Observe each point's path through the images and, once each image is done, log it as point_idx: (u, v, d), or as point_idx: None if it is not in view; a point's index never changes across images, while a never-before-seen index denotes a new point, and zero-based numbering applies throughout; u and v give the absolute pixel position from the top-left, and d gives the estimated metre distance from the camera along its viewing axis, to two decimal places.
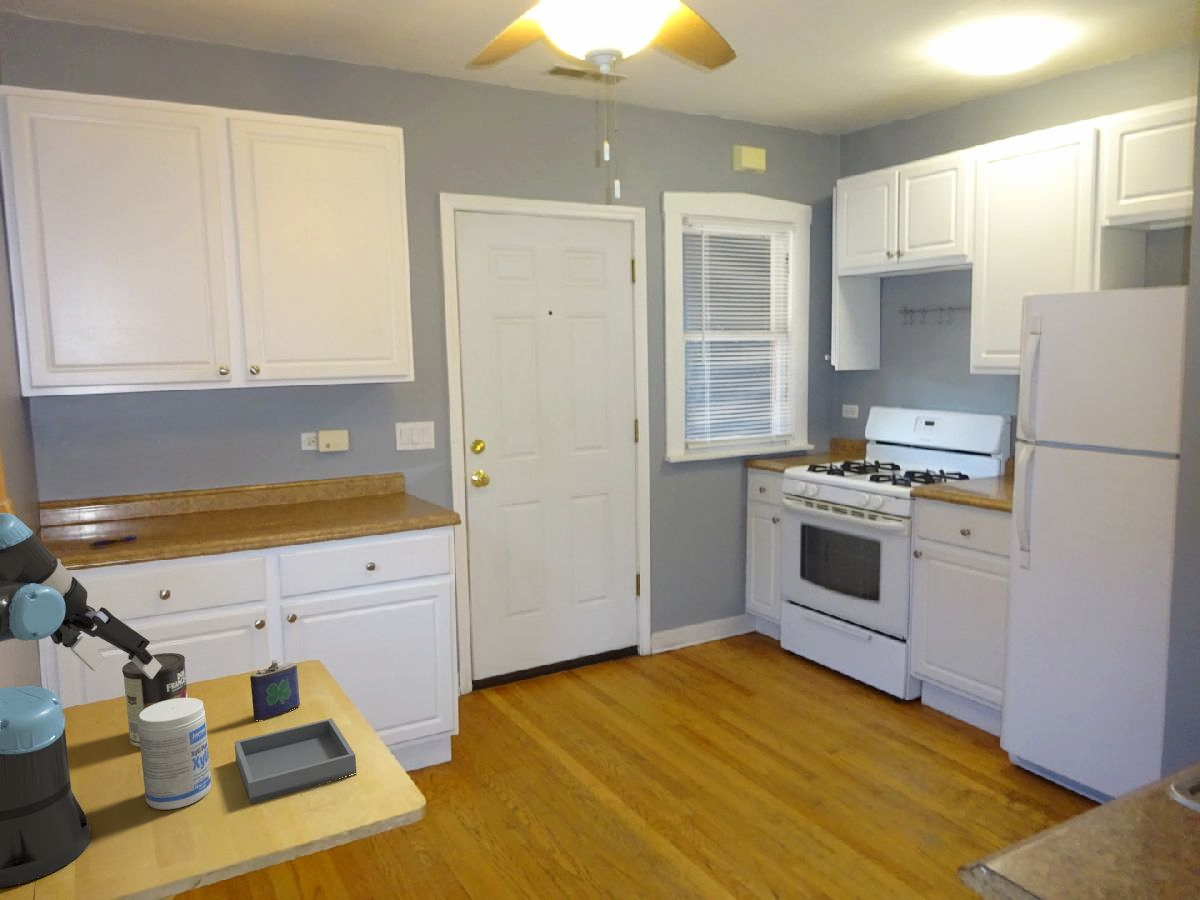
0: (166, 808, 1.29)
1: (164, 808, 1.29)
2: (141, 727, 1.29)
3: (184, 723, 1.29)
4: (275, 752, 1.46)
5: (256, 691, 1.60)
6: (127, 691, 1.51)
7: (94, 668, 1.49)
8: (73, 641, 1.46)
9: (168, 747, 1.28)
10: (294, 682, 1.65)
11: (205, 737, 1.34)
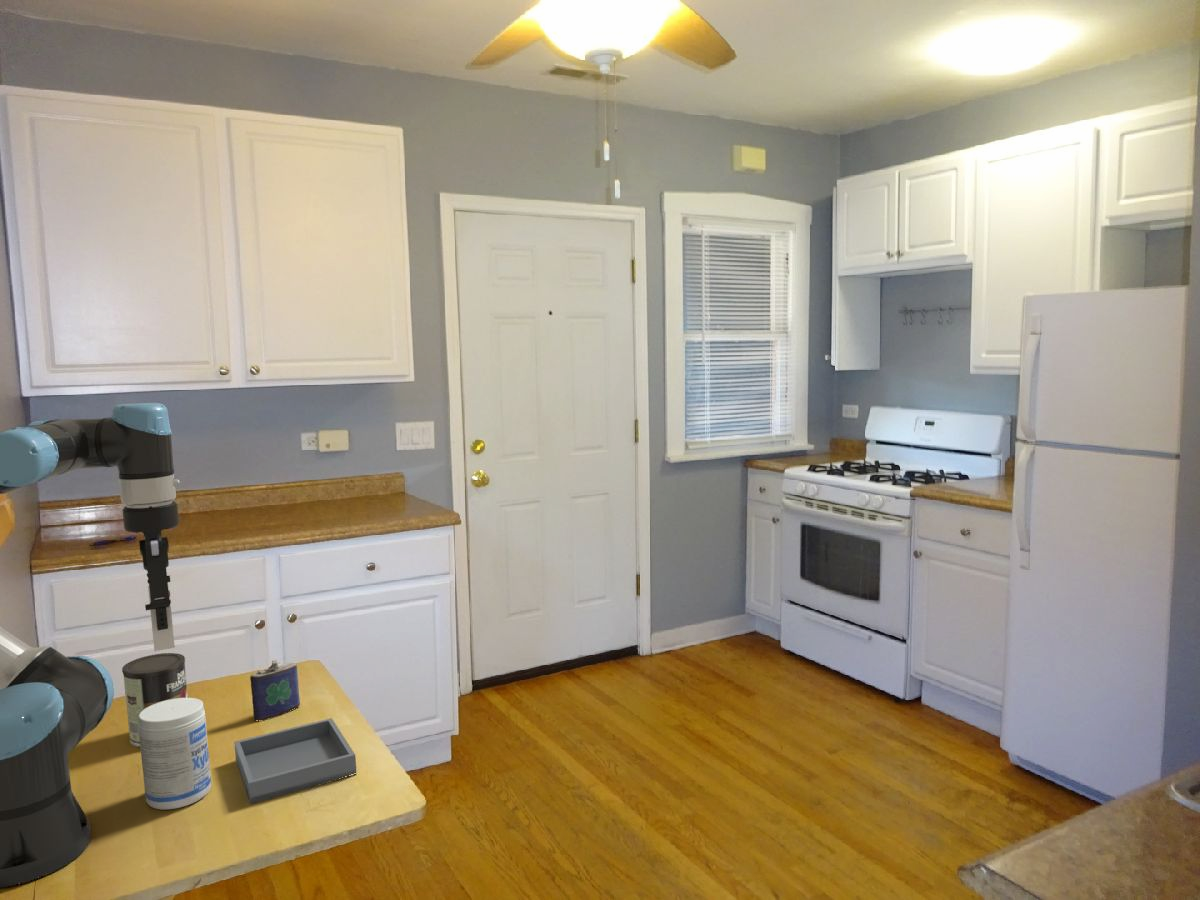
0: (166, 808, 1.29)
1: (164, 808, 1.29)
2: (141, 727, 1.29)
3: (184, 723, 1.29)
4: (275, 752, 1.46)
5: (256, 691, 1.60)
6: (127, 691, 1.51)
7: None
8: None
9: (168, 747, 1.28)
10: (294, 682, 1.65)
11: (205, 737, 1.34)
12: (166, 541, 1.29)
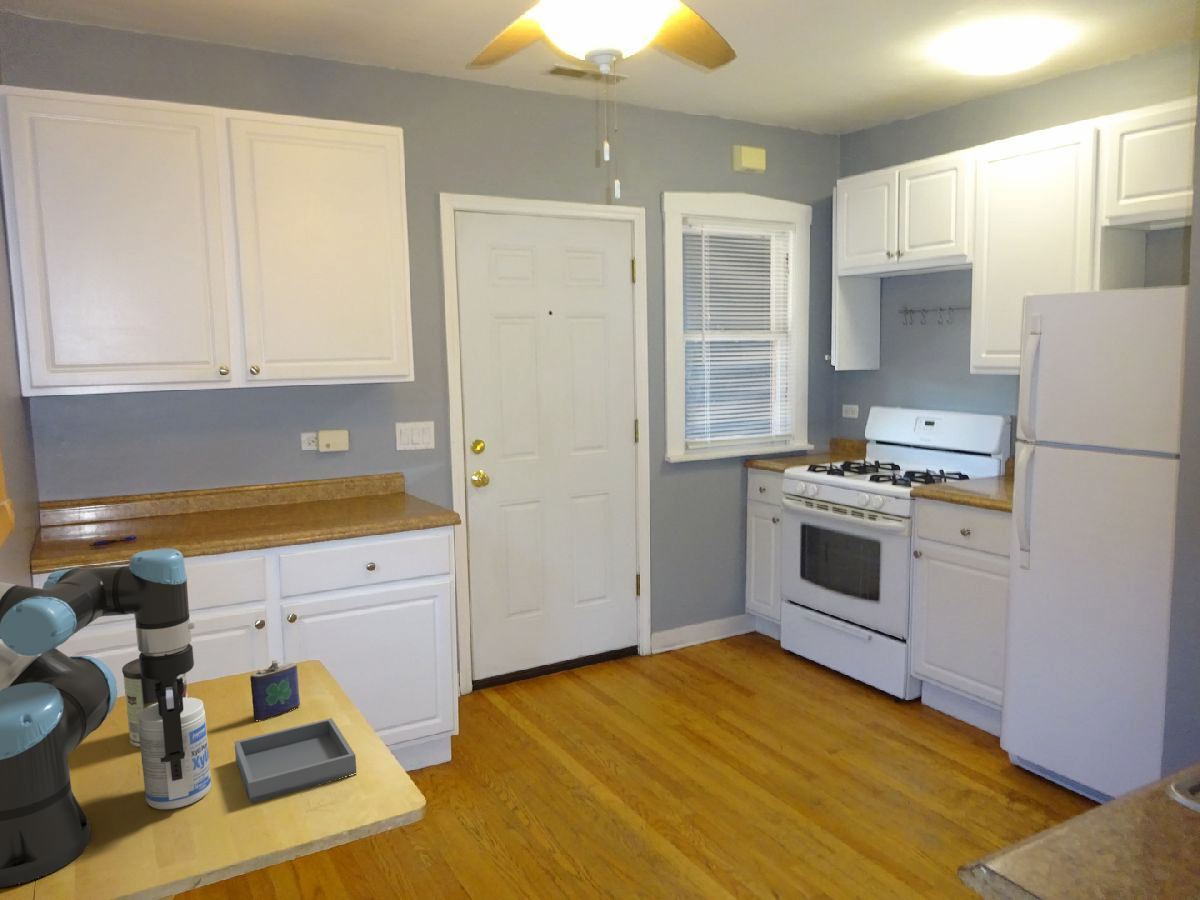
0: (166, 808, 1.29)
1: (164, 808, 1.29)
2: (141, 727, 1.29)
3: (184, 723, 1.29)
4: (275, 752, 1.46)
5: (256, 691, 1.60)
6: (127, 691, 1.51)
7: None
8: None
9: None
10: (294, 682, 1.65)
11: (205, 737, 1.34)
12: (181, 686, 1.31)
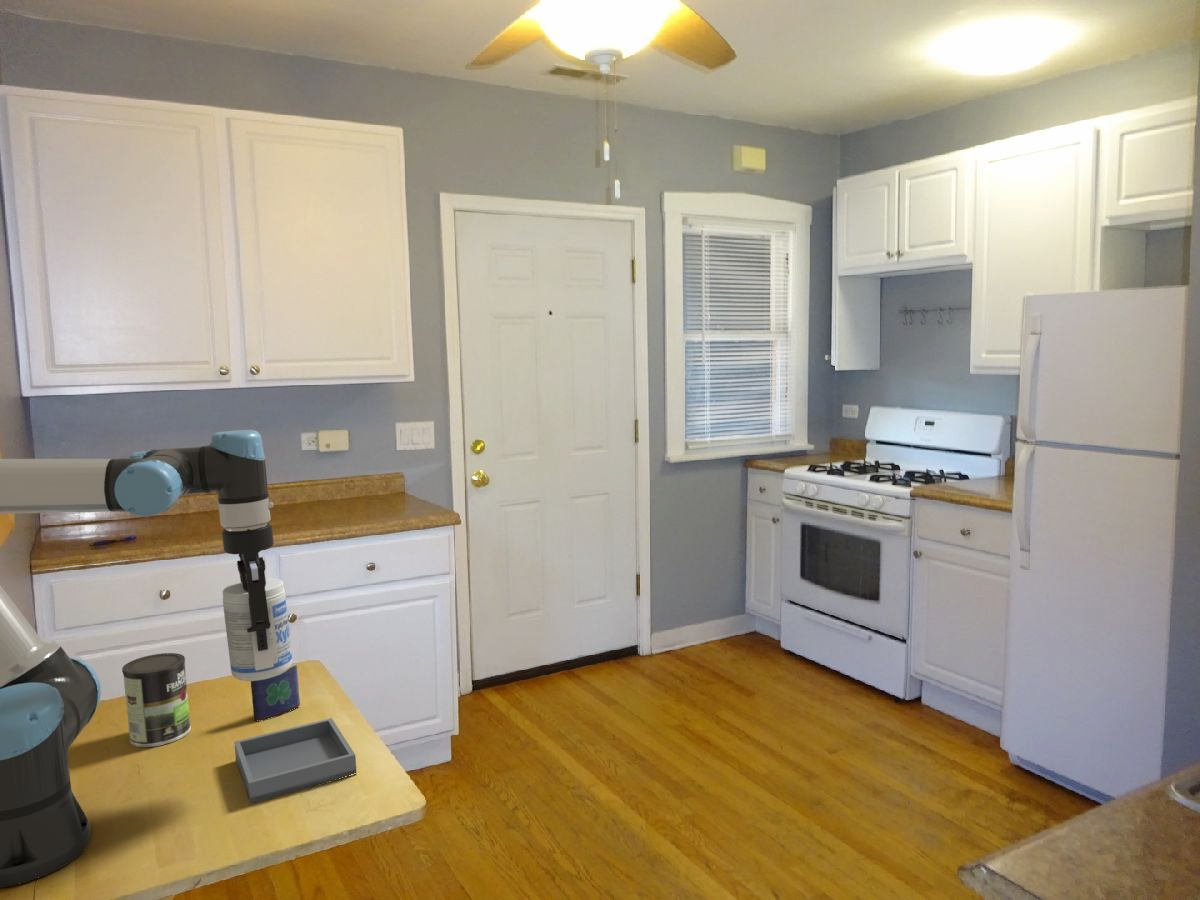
0: (252, 679, 1.33)
1: (250, 679, 1.33)
2: (226, 601, 1.33)
3: (267, 596, 1.33)
4: (275, 752, 1.46)
5: (256, 691, 1.60)
6: (127, 691, 1.51)
7: None
8: None
9: None
10: (294, 682, 1.65)
11: (286, 613, 1.37)
12: (263, 562, 1.35)
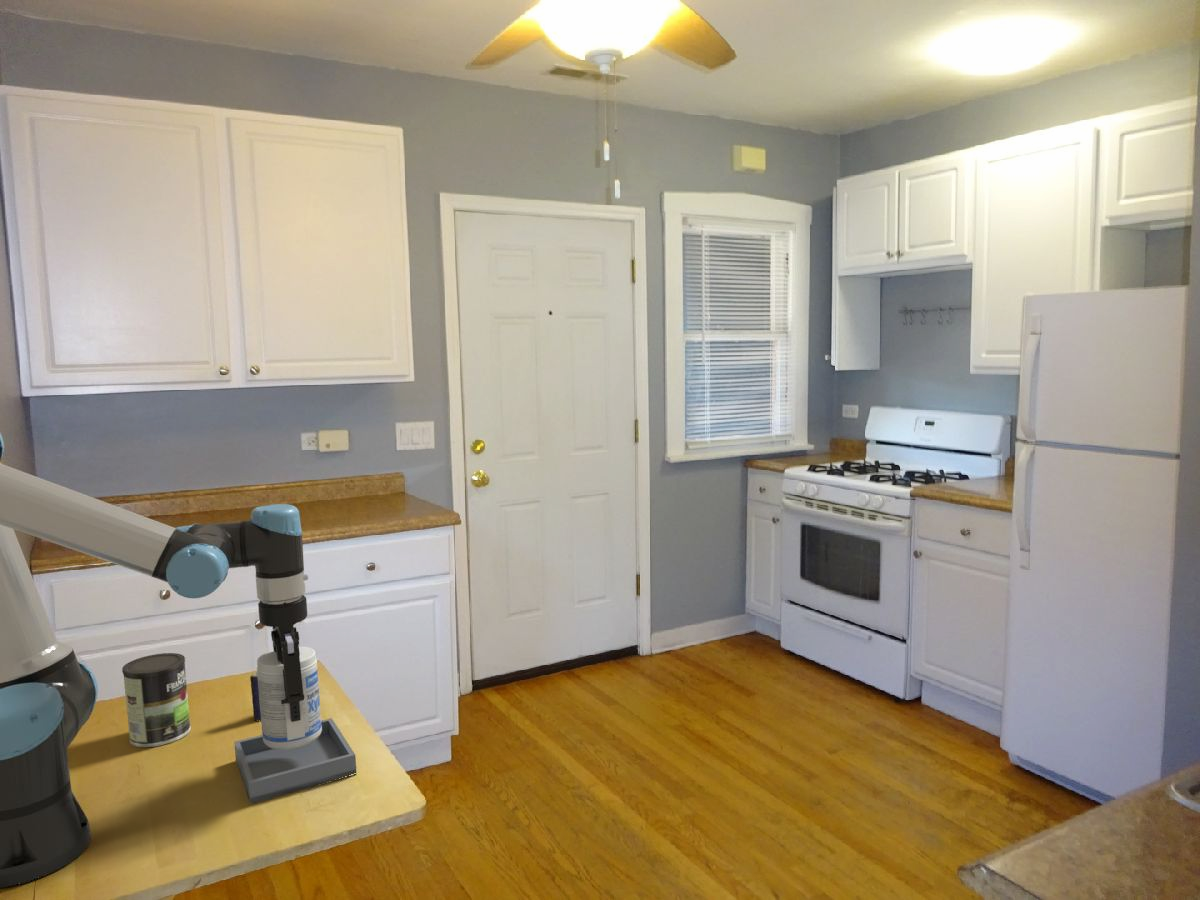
0: (284, 748, 1.37)
1: (282, 748, 1.37)
2: (261, 671, 1.36)
3: (301, 667, 1.37)
4: (275, 752, 1.46)
5: (256, 691, 1.60)
6: (127, 691, 1.51)
7: None
8: None
9: None
10: None
11: (317, 682, 1.41)
12: (297, 633, 1.39)
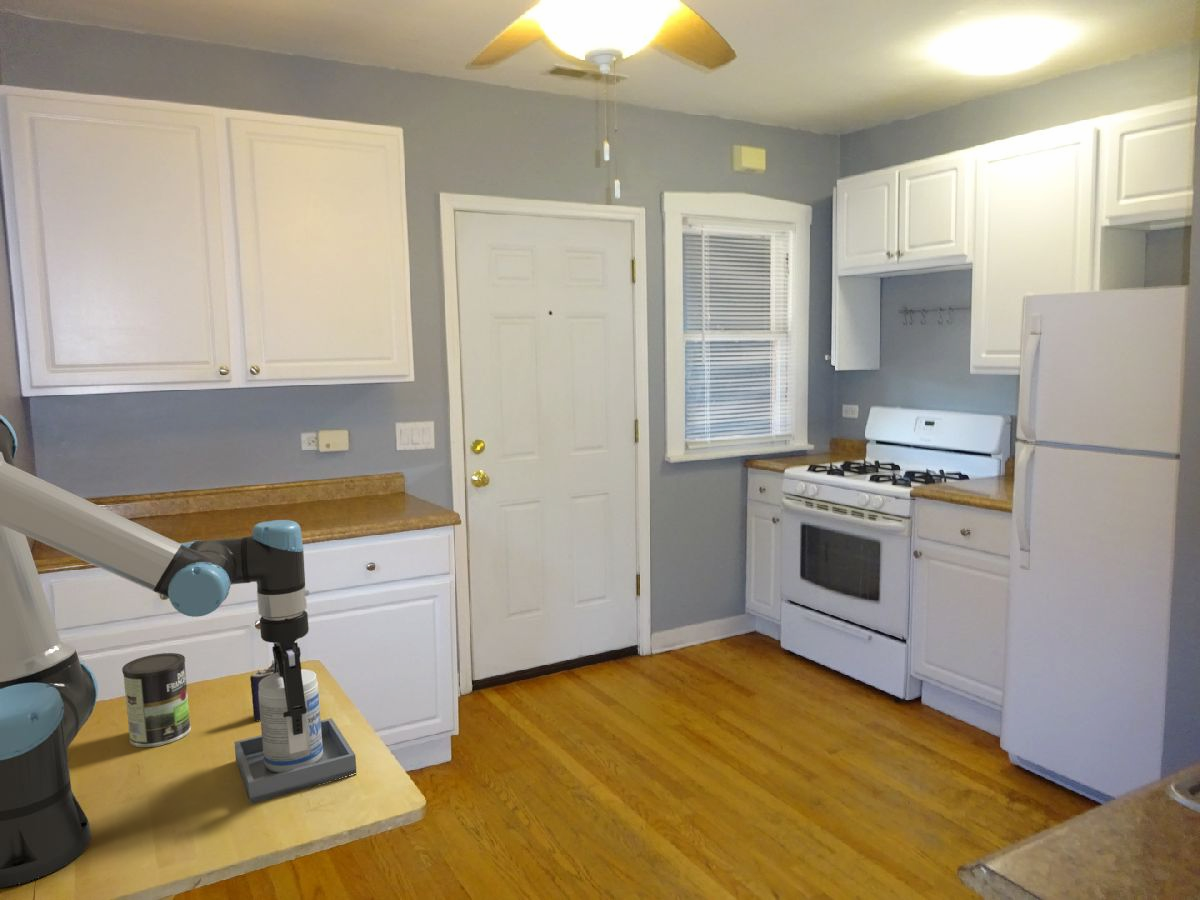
0: None
1: (283, 771, 1.38)
2: (263, 695, 1.37)
3: None
4: None
5: (256, 691, 1.60)
6: (127, 691, 1.51)
7: None
8: None
9: None
10: None
11: (318, 706, 1.42)
12: (298, 648, 1.39)
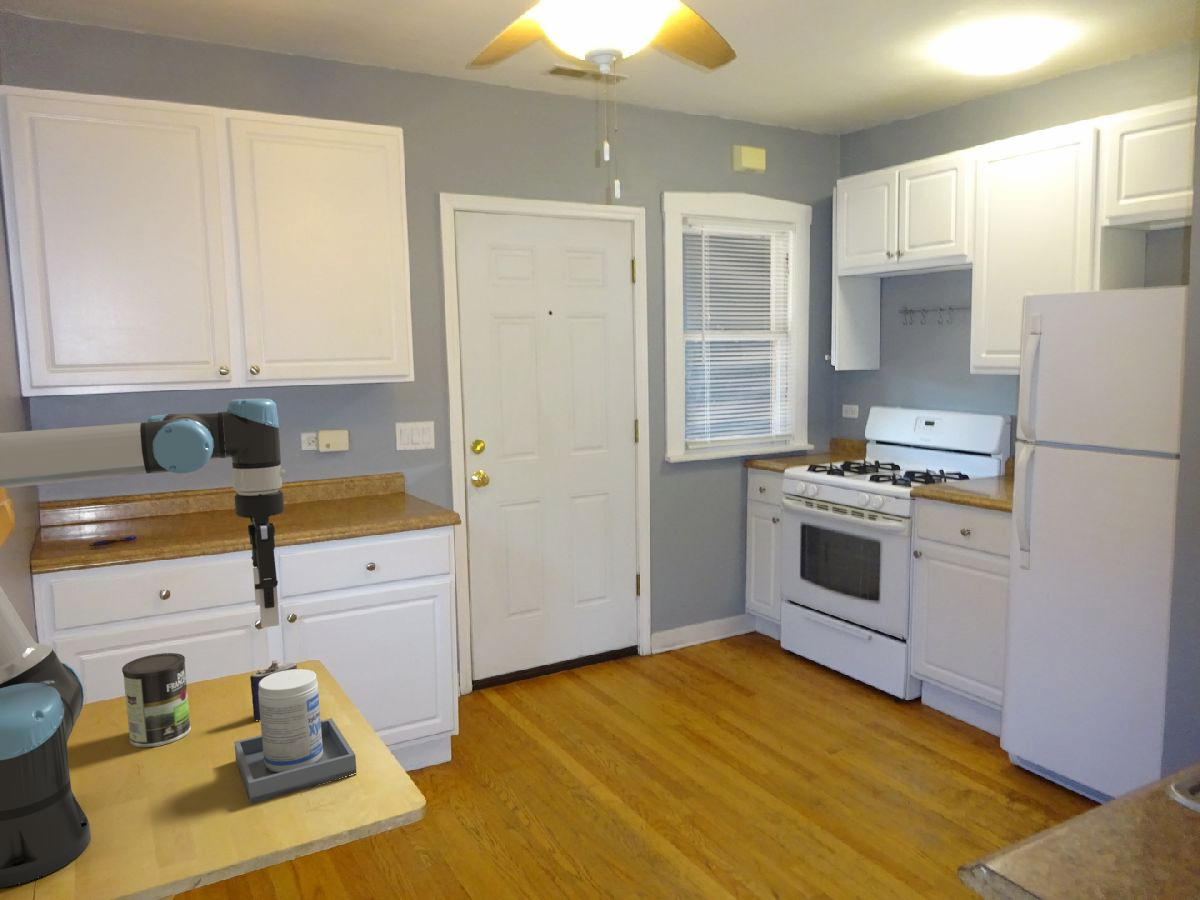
0: None
1: (283, 771, 1.38)
2: (263, 695, 1.37)
3: (302, 691, 1.38)
4: None
5: (256, 691, 1.60)
6: (127, 691, 1.51)
7: (257, 602, 1.47)
8: None
9: (288, 714, 1.37)
10: None
11: (318, 706, 1.42)
12: (272, 526, 1.39)
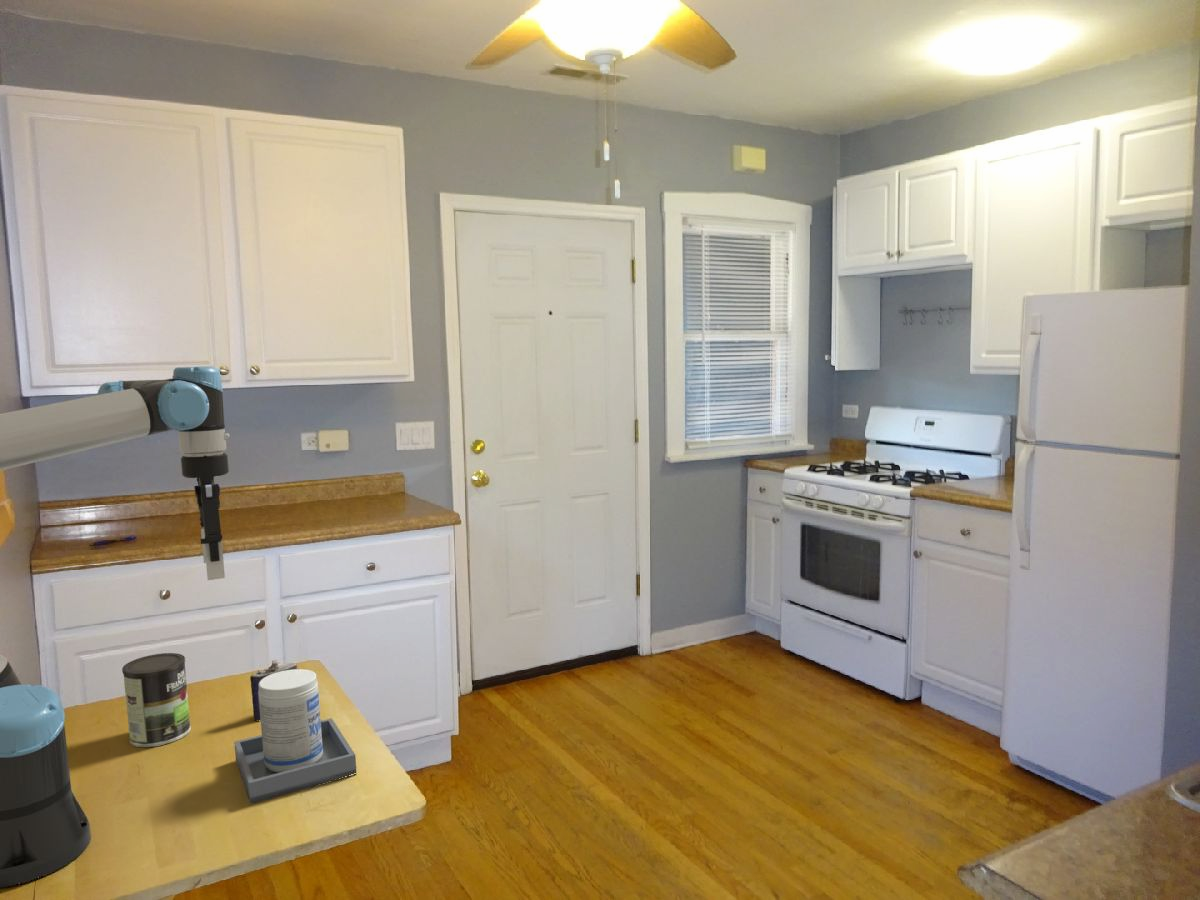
0: None
1: (283, 771, 1.38)
2: (263, 695, 1.37)
3: (302, 691, 1.38)
4: None
5: (256, 691, 1.60)
6: (127, 691, 1.51)
7: (205, 560, 1.56)
8: None
9: (288, 714, 1.37)
10: None
11: (318, 706, 1.42)
12: (218, 486, 1.48)
